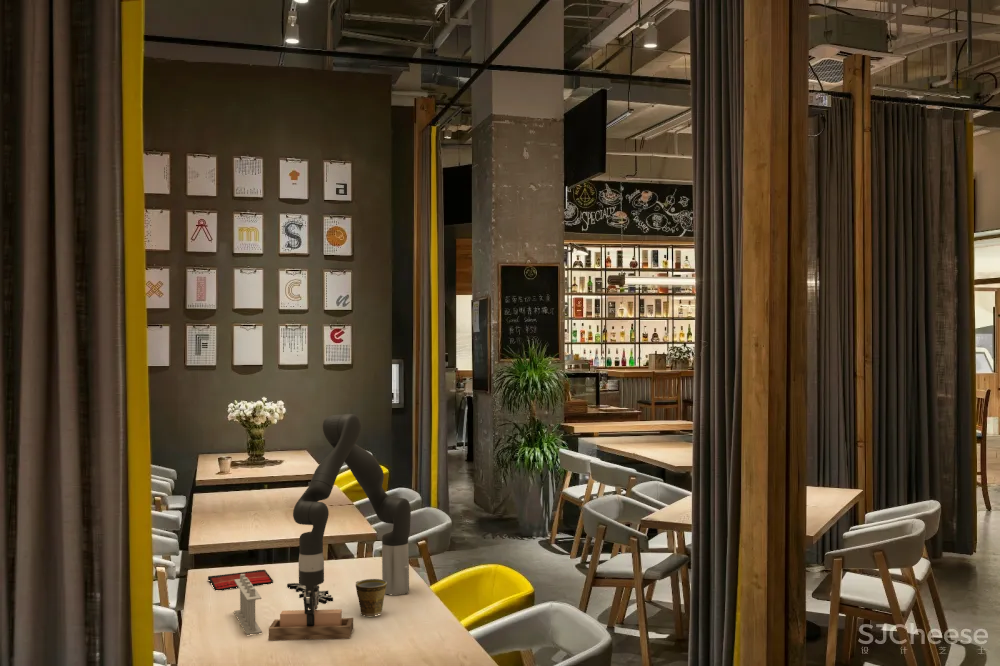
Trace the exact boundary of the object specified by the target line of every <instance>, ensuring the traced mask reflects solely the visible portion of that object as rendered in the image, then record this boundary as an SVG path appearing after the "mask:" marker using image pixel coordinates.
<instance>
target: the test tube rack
mask: <svg viewBox="0 0 1000 666" xmlns="http://www.w3.org/2000/svg"><path fill="white" fill-rule="evenodd" d="M234 581H235V583H236V584H237V586H238V587H239V588H238V589H239V596H240V597H239V604H240V605H239V606H240V607H239V610H234V612H235V613H234V612H233V613H234V615H235V614H236V615H235V617H236V616H237V617H238V619H239V620H238V619H237V620H238V621H240V622H239V624H240V623H241V624H240V626H241V625H242V626H243V627H242V626H241V627H242V629H243V628H244V629H243V631H244V630H245V631H244V632H246V633H245V635H246V636H247V635H250V634H256V635H260V634H259V633H262V634H263V631H262V629H261V627H260V626H259V624H258V623H257V621H256V601H257V600H261V599H263V598H262V596H261V595H260V593H259V592H258V591H257V589H256V588H255V586H253V585H252V584H251V582H250V581H249V579H248V578H247V577H246V576H245V574H241V575H240V579H235V580H234ZM237 617H236V618H237ZM250 636H251V635H250Z"/></svg>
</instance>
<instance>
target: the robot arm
mask: <svg viewBox="0 0 1000 666" xmlns="http://www.w3.org/2000/svg"><path fill="white" fill-rule="evenodd" d="M361 430H362V424H361V420H360V418H359V417H358V415H356V414H354V413H353V414H352V413H345V414H333V415H328V416H327V417H325V419H324V420H323V423H322V431H323V434H324V435H323V436H324V437H325V439H326V440H327V442H328V443H329V444H330V445H331V447H332V448H333V449H332V450H331V452H330V453H329V454H328V455H327V456H326V457H324V459H323V460H322V461H321V462H320V463H319V464H318V466H316V469H315V470H314V473H313V474H312V475H313V476H312V478H311V480H310V483H309V486H308V487H307V488H306V490H305V491H304V492H303V493H302V495H301V496H300V497H299V499H298V500H297V502H296V503H295V505H294V507H293V511H292V517H293V520H294V522H295V523H296V524H297V525H298V524H299V525H304V526H305V525H307V526H312V529H311V531H306V532H303V533H302V534H300V535H299V542H298V543H299V544H298V545H299V546H298V547H299V552H298V553H299V554H298V583H299V584H300V585H304V586H306V590H305V591H304V597H302V600H303V607H304V609H303V610H305V614H307V626H314V614H315V610H318V608H319V607H318V606H319V603H320V602H318V600H319V591H320V585H322V584H323V583H324V582H325V560H324V558H325V557H324V543H323V542H324V536H325V531H326V527H327V523H328V519H329V515H330V514H329V508H328V506H327V504H325V503H324V502H323V501H324V500H327V499H329V498H330V495H331V493H332V491H333V488H334V486H335V483H336V480H337V478H338V475H339V473H340V471H341V468H342V467H343V465H344V463H345V464H346V466H347V468H348V469H349V470H350V472H351V474H352V475H353V477H354V478H355V480H356V482H357V483H358V484H359V486H360V488H362V490H363V492H364V493H365V495H366V496H367V499H368V501H369V502H370V504H371V506H372V508H373V511H374V512H375V514H376V516H377V518H378V520H379V521H381V522H382V523H385V524H393V526H392V527H393V528H392V530H391V531H389V532H387V533H384V534H383V535H382V536H381V560H382V561H381V563H382V565H381V568H382V569H381V571H382V572H381V574H382V575H381V576H382V578H381V580H385V581H386V582H387V585H386V591H385V595H386V594H392V595H391V596H399V595H398V594H402V595H405V594H404V593H408V594H409V592H410V562H409V538H410V534H411V518H412V517H411V515H412V514H411V513H412V512H411V511H412V510H411V509H412V508H411V503H410V502H409V500H408V499H407V498H403V497H396V496H395V497H394V496H389V495H388V493H387V492H386V491H385V490H384V488H383V484H384V479H385V476H384V470H383V468H382V467H381V465H380V463H379V461H378V460H377V458H376V457H375V456H374V455H373V454H372V453H370V452H369V451H367V450H366V449H365V448H362V447H361V446H359V445H358V444H356V443H357V441H358V440H359V437H360V435H361V434H360V433H361Z"/></svg>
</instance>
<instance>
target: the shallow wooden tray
mask: <svg viewBox="0 0 1000 666" xmlns="http://www.w3.org/2000/svg"><path fill="white" fill-rule="evenodd" d="M353 631H354V617H342V625H341V626H301V627H280V618H277V619H273V621H272V623H271V624H270V626H268V641H291V640H292V641H294V640H295V641H297V640H302V641H303V640H342V639H346V640H347V639H348V640H349V639H350V638H351V636H352V634H353Z"/></svg>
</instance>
